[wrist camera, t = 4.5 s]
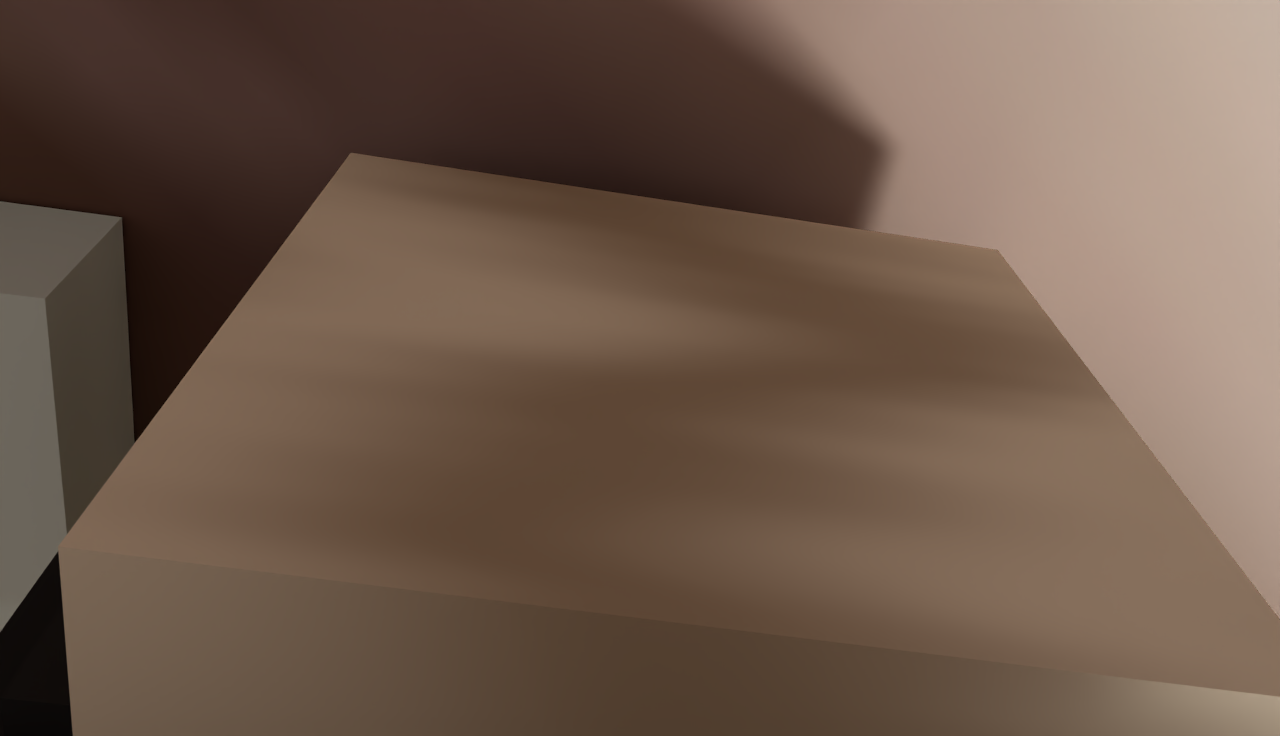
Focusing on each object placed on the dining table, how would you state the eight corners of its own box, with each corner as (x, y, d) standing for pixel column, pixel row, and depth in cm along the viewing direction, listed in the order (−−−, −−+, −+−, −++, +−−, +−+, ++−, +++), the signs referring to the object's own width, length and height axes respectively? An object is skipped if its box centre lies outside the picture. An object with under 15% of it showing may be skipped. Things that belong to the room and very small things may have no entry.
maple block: (997, 250, 12) (1345, 706, 6) (845, 728, 15) (984, 1347, 9) (349, 152, 11) (57, 544, 6) (326, 667, 14) (116, 1279, 8)
